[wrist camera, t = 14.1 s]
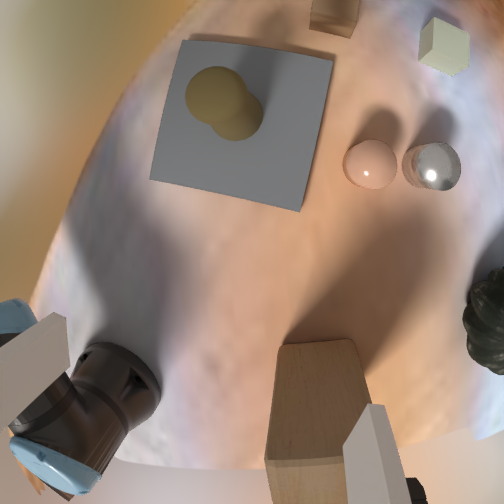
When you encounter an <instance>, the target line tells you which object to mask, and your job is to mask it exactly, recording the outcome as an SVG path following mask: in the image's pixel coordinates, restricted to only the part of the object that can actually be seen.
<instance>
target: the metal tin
mask: <svg viewBox="0 0 504 504" xmlns="http://www.w3.org/2000/svg"><path fill="white" fill-rule="evenodd" d="M402 171H403V174H404V176H405V178H406V180H407V181H408V182H409V183H410V184H411V185H413V186H415V187H418V188H426V189H434V190H441V191H445V190H449V189H451V188H452V187H454V186H455V185H456V183H457V182H458V180H459V178H460V174H461V164H460V160H459V157H458V155H457V153H456V152H455V150H454V149H453V148H452V147H451V146H449V145H448V144H445V143H442V142H435V143H430V144H426V145H421V146H416V147H412V148H410V149H409V150H408V151H407V152H406V153H405V155H404V157H403V160H402Z"/></svg>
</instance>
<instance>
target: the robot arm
mask: <svg viewBox="0 0 504 504" xmlns="http://www.w3.org/2000/svg"><path fill="white" fill-rule="evenodd" d="M69 367H70V359H69V349H68V339H67V326H66V317H63V316H61V315H59V314H57V313H55V312H53V313H52V314H50V315H48V316H47V317H45V318H44V319H42V320H41V321H39V322H38V321H37V319H36V317H35V315H34V313H33V312H32V310H31V308H30V306H29V304H28V303H27V302H26V301H24V300H22V299H20V298H14V299H10V300H7V301H4V302H1V303H0V433H1V431H3V430H4V429H5V428H6V427H7V426H8V427H9V428H10V429H11V431H12V432H13V434H14V436H13V437H11V439H10V443H9V446H10V449H11V450H12V452H13V454H14V455H15V457H16V458H17V459H18V460H19V461H20V462H21V463H22V464H23V465H24V466H25V467H26V468H27V469H28V470H30V471H31V472H32V473H33V474H35V475H36V476H37V477H39V478H40V479H42V480H43V481H45V482H46V483H48V484H50V485H51V486H53V487H55V488H57V489H59V490H61V491H64V492H66V493H69V494H73V495H85V494H87V493H89V492H90V491H91V489H92V488H93V486H94V485H95V484H96V483H97V481H98V480H100V479H101V477H102V474H103V472H104V471H105V469H106V468H107V466H108V464H109V462H110V461H111V459H112V458H113V456H114V454H115V453H116V451H117V449H118V448H119V446H120V445H121V443H122V441H123V440H124V438H125V437H126V435H127V434H128V432H129V431H131V430H132V429H134V428H135V427H137V426H138V425H140V424H141V423H143V422H144V421H145V420H147V419H148V418H150V417H151V415H152V414H153V413H154V411H155V410H156V408H157V406H158V404H159V401H160V390H159V386H158V383H157V381H156V379H155V377H154V375H153V374H152V372H151V371H150V369H149V368H148V367H147V366H146V365H145V364H144V363H143V362H142V361H141V360H140V359H139V358H138V357H137V356H135V355H134V354H133V353H131V352H130V351H128V350H126V349H125V348H123V347H120V346H118V345H115V344H111V343H96V344H93V345H91V346H90V347H88V348H87V349H86V350H85V351H84V352H83V353H82V354H81V355H80V357H79V358H78V360H77V363H76V365H75V368H74V370H73V372H72V375H71V377H70V378H69V377H68V375H67V374H66V372H65V371H66V370H67V369H68V368H69ZM343 455H344V465H345V475H346V485H347V496H348V504H428V502H427V501H426V499H427V498H426V495H425V491H424V488H423V486H422V485H421V484H420V482H419V481H418V480H417V478H405V475H404V471H403V467H402V464H401V460H400V456H399V453H398V449H397V446H396V442H395V439H394V435H393V432H392V429H391V425H390V422H389V419H388V416H387V412H386V409H385V406H384V405H377V404H369V403H368V404H367V406H366V408H365V409H364V411H363V413H362V415H361V416H360V418H359V420H358V422H357V423H356V425H355V427H354V428H353V430H352V432H351V433H350V435H349V437H348V438H347V440H346V441H345V443H344V445H343Z"/></svg>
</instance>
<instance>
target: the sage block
mask: <svg viewBox="0 0 504 504" xmlns="http://www.w3.org/2000/svg"><path fill="white" fill-rule="evenodd" d="M418 62H420V63H422V64H424V65H427V66H429V67H431V68H434V69H436V70H438V71H440V72H443V73H445V74H447V75H449V76H451V77H452V76H453V75H455V74H457V73H459V72H460V71H462V70H464V69H466V68H467V67H469V34H468V33H467V32H465V31H463V30H461V29H459V28H457V27H455V26H453V25H451V24H449V23H447V22H445V21H442V20H440V19H438V18H436V17H433V18H432V19H431V20H430V22H429V23H428V24H427V25H426V26H425V27H424V28H423V29H422V30H421V32H420V45H419V56H418Z"/></svg>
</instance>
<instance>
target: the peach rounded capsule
mask: <svg viewBox="0 0 504 504" xmlns="http://www.w3.org/2000/svg"><path fill="white" fill-rule="evenodd" d="M343 171H344V173H345V175H346V177H347V179H348V180H349V181H350V182H351V183H353V184H355V185H357V186H360V187H365V188H371V189H380V188H383V187H385V186H387V185H388V184H390V183H391V182H392V180H393V179H394V177H395V175H396V172H397V159H396V156H395V154H394V152H393V151H392V149H391V148H390V147H389V146H388V145H387V144H385V143H384V142H382V141H379V140H366V141H363V142H361V143H359V144H357V145H355V146H353V147H351V148H350V149H349V150H348V151H347V152H346V154H345V156H344V158H343Z"/></svg>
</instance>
